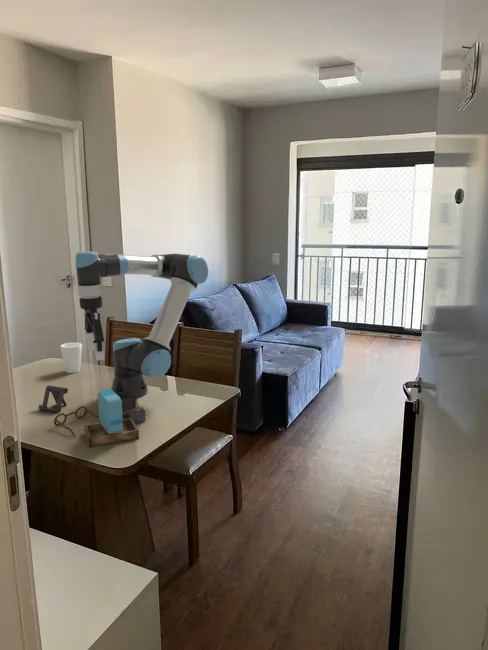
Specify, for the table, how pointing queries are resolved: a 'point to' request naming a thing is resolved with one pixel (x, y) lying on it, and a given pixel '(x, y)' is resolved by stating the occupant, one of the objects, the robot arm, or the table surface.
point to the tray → (101, 437)
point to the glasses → (75, 415)
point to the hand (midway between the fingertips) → (95, 354)
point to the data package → (110, 411)
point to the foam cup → (72, 356)
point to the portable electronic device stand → (58, 396)
